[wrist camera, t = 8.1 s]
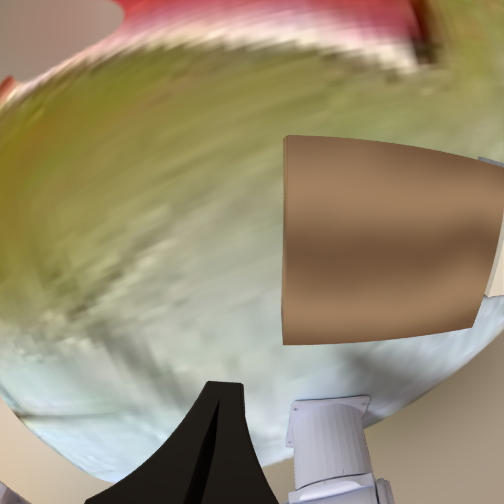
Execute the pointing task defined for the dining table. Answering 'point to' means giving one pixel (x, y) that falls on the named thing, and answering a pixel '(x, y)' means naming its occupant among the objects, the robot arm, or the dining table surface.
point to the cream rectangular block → (497, 269)
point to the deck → (384, 240)
